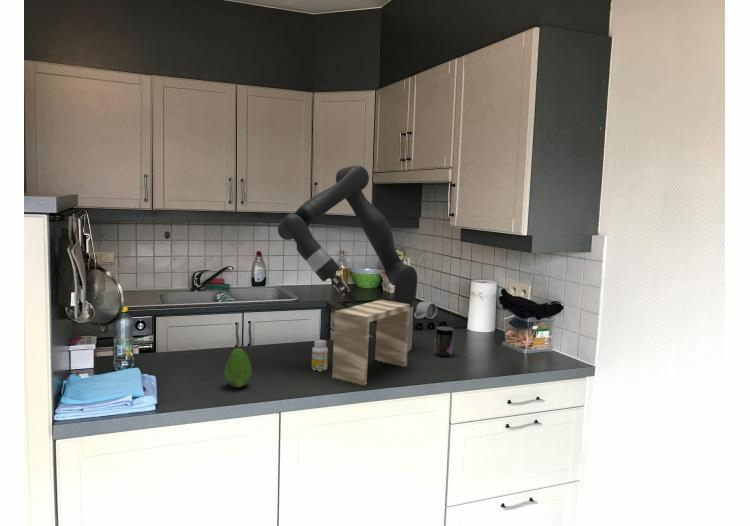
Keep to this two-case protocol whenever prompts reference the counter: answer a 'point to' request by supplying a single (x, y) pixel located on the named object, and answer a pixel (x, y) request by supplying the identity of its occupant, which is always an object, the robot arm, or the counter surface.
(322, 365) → the supplement bottle
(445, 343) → the supplement container
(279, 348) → the counter surface
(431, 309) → the ceramic mug
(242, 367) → the avocado
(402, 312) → the low shelf
